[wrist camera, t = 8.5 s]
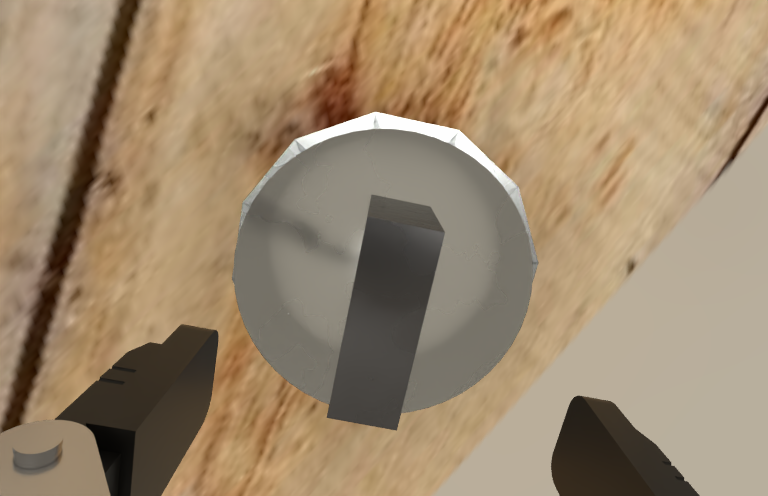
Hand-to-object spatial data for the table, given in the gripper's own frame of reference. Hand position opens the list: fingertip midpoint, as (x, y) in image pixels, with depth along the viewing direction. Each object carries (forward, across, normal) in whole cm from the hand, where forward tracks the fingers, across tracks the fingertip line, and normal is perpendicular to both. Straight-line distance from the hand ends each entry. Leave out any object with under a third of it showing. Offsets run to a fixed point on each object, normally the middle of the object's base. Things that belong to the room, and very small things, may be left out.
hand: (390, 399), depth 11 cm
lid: (+11, 0, 0) cm, 11 cm away
